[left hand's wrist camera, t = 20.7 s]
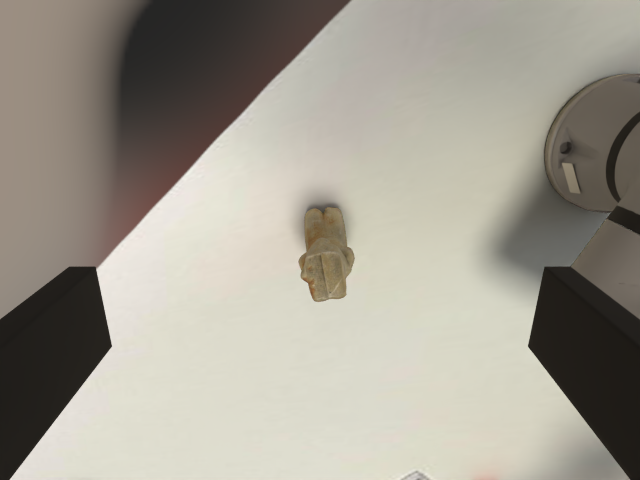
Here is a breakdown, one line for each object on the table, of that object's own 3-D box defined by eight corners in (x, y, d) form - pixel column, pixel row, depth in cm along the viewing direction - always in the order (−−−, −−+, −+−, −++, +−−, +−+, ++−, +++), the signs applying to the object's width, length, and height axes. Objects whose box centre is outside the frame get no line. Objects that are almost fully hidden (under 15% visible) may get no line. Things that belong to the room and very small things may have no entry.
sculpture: (347, 202, 52) (357, 249, 38) (350, 257, 55) (361, 319, 41) (299, 206, 52) (292, 254, 38) (304, 260, 55) (299, 323, 41)
